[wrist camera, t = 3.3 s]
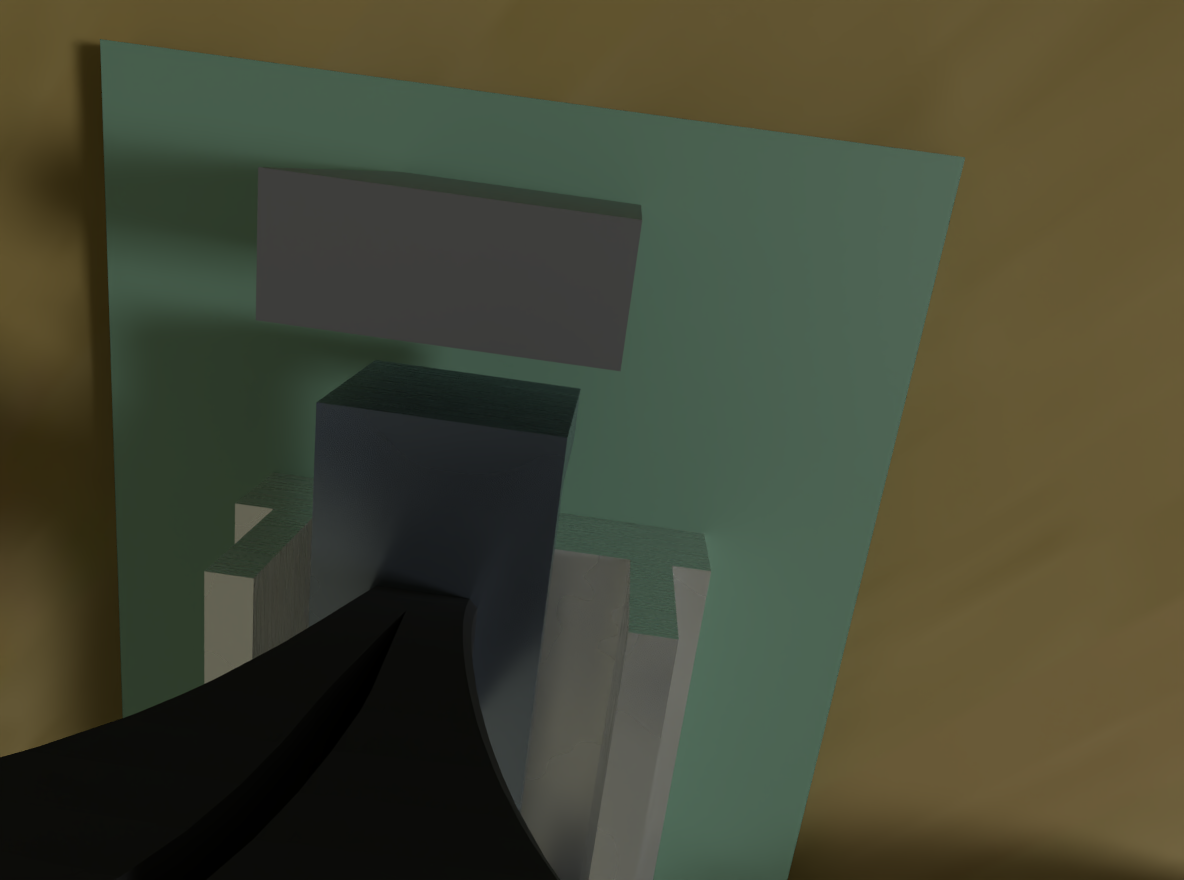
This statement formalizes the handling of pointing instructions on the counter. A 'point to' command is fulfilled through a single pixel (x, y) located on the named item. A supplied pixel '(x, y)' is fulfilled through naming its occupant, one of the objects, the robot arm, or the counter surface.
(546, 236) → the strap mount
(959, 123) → the counter surface
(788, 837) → the motherboard
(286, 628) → the heat sink
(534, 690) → the metal bar
